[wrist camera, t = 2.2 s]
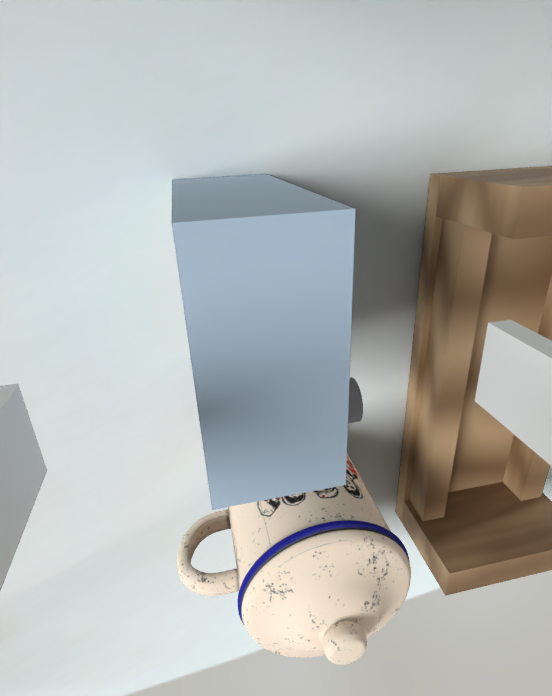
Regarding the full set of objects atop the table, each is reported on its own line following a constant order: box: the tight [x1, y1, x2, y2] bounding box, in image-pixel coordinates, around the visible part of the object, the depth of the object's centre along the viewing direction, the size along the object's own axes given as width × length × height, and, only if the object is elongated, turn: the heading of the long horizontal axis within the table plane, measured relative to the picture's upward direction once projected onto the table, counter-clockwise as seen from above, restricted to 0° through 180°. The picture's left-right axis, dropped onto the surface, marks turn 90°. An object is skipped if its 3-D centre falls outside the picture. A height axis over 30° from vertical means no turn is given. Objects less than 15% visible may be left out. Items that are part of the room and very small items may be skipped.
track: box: [395, 166, 552, 595], centre depth 26 cm, size 24×10×7 cm, turn 2°
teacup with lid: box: [177, 453, 411, 665], centre depth 25 cm, size 12×9×12 cm
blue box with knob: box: [172, 174, 363, 510], centre depth 18 cm, size 9×6×12 cm, turn 2°
